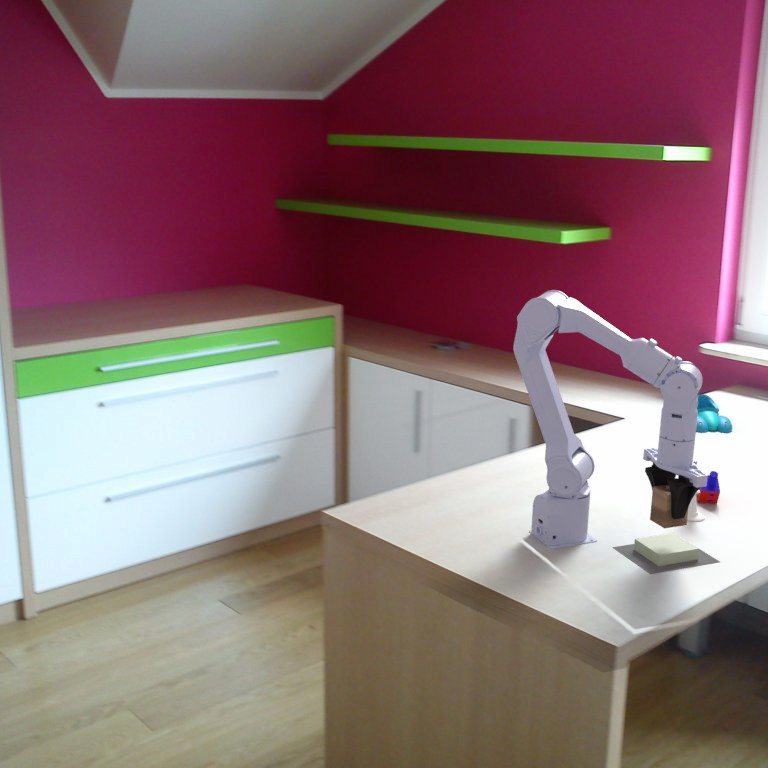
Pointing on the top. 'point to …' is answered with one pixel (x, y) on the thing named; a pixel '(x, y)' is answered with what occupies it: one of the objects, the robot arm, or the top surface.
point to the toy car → (710, 416)
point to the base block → (666, 549)
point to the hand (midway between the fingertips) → (669, 513)
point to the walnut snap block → (664, 508)
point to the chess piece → (694, 511)
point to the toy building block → (710, 489)
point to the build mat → (653, 568)
